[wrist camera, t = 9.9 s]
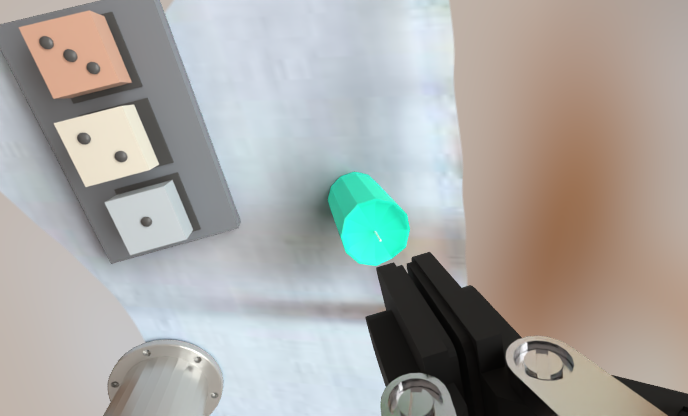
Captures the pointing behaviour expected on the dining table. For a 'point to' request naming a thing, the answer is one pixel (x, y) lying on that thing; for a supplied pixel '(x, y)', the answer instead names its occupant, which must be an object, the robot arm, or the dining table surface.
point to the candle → (367, 219)
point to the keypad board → (154, 112)
